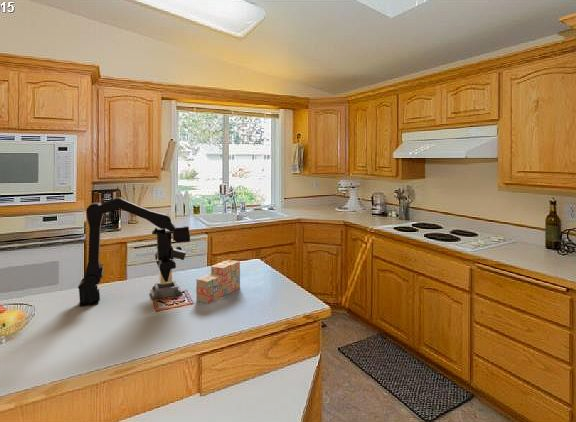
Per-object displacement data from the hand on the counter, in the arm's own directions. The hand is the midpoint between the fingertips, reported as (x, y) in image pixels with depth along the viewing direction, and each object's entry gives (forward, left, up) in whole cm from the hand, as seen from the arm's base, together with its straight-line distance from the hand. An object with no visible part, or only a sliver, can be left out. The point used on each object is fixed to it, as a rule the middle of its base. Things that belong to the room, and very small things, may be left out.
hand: (165, 279), depth 155 cm
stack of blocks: (+21, -10, -6) cm, 24 cm away
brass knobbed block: (0, 0, -1) cm, 1 cm away
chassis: (0, 0, -6) cm, 6 cm away
